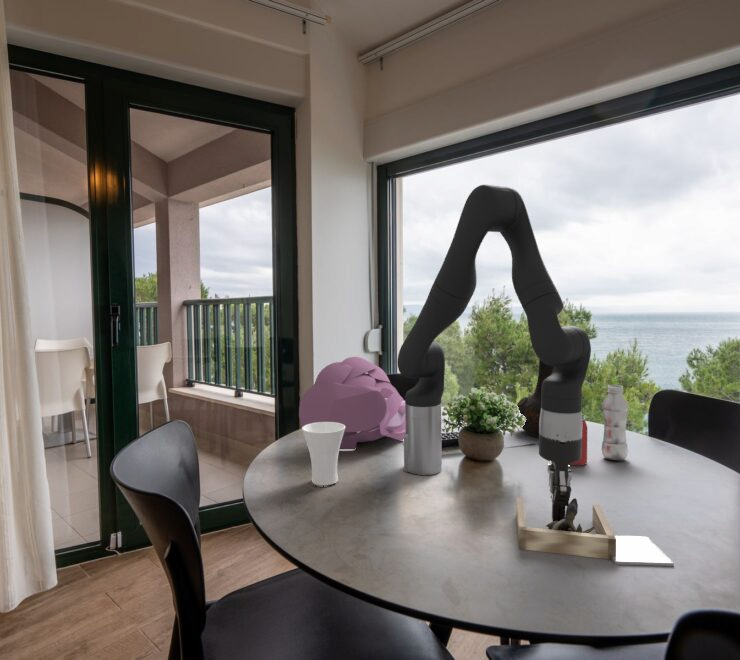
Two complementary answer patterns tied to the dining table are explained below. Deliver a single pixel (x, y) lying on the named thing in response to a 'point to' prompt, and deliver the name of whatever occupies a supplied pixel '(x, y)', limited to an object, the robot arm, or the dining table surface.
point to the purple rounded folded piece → (355, 402)
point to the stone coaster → (639, 552)
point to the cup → (324, 450)
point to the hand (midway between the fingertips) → (558, 521)
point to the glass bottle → (534, 402)
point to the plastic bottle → (615, 424)
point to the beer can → (583, 445)
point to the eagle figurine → (568, 520)
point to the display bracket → (568, 537)
